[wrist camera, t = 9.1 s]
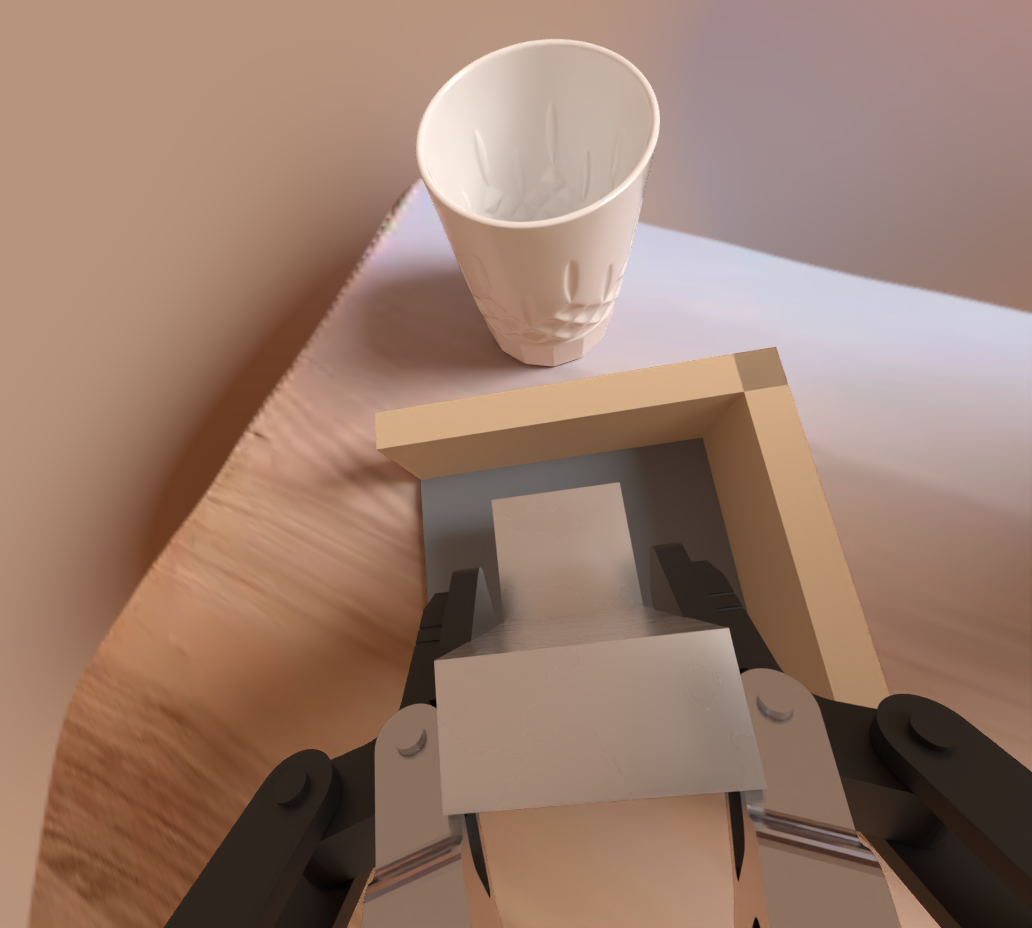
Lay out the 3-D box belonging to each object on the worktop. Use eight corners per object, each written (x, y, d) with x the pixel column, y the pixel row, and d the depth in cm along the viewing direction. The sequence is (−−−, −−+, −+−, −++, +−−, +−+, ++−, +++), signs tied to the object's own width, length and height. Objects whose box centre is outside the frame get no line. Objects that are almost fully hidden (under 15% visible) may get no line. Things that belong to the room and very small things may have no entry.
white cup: (499, 397, 22) (446, 260, 13) (462, 277, 25) (393, 85, 15) (645, 349, 22) (701, 173, 13) (594, 232, 24) (608, 7, 15)
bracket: (615, 491, 16) (668, 380, 7) (648, 667, 14) (767, 788, 6) (498, 507, 16) (420, 419, 8) (516, 681, 15) (443, 814, 6)
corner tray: (723, 407, 21) (775, 346, 15) (821, 764, 17) (940, 849, 11) (422, 454, 22) (375, 412, 17) (443, 796, 18) (389, 887, 13)
